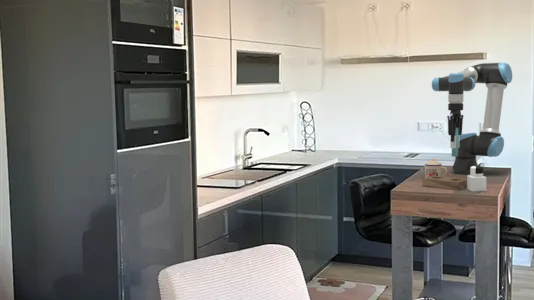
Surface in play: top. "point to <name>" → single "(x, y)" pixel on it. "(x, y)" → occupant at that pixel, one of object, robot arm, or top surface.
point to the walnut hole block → (445, 182)
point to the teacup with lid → (433, 168)
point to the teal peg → (455, 150)
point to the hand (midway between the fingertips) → (454, 147)
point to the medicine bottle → (476, 179)
